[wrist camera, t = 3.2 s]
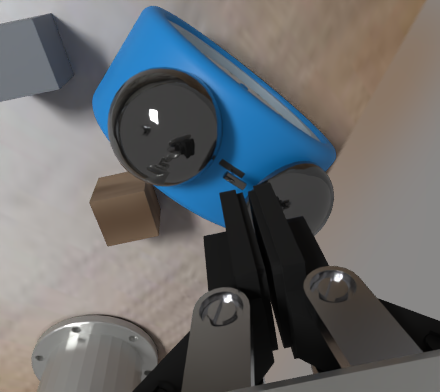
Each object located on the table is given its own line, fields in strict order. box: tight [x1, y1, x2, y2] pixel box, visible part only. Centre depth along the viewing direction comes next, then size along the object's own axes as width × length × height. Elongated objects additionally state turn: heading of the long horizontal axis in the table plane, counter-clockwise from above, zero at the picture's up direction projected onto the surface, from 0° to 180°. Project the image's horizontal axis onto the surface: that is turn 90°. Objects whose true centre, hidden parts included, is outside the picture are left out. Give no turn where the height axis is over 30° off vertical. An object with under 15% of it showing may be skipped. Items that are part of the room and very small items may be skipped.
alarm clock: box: [92, 6, 336, 236], centre depth 22 cm, size 13×6×15 cm, turn 53°
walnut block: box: [89, 172, 161, 246], centre depth 30 cm, size 4×4×4 cm
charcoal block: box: [0, 13, 74, 102], centre depth 24 cm, size 4×4×4 cm
